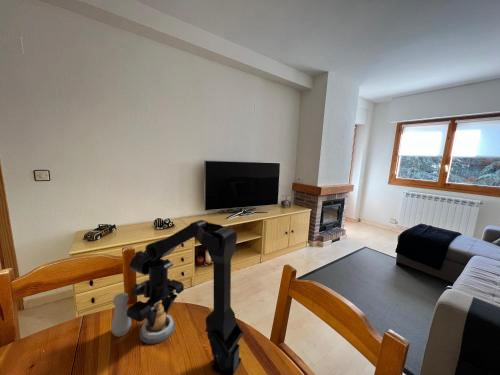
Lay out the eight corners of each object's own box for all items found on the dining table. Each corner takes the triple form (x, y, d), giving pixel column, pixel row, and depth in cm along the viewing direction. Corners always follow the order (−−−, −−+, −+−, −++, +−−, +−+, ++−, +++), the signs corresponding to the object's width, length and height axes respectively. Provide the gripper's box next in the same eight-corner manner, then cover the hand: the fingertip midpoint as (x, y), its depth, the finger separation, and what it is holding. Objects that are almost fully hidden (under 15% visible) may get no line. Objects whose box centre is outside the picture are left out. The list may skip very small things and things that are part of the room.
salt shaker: (135, 326, 73) (134, 291, 72) (123, 340, 68) (123, 302, 66) (119, 324, 74) (118, 289, 73) (106, 337, 68) (105, 299, 67)
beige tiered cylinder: (168, 322, 73) (168, 304, 72) (157, 332, 69) (157, 312, 68) (158, 317, 75) (158, 299, 74) (146, 326, 71) (146, 307, 70)
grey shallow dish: (181, 325, 75) (182, 319, 75) (156, 349, 65) (156, 342, 65) (158, 315, 79) (159, 308, 79) (132, 335, 69) (131, 328, 69)
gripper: (162, 261, 82) (162, 298, 84) (114, 284, 65) (115, 331, 67) (185, 268, 77) (184, 308, 79) (139, 295, 60) (140, 345, 62)
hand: (158, 321), depth 72 cm, fingers closed on beige tiered cylinder, 5 cm apart
